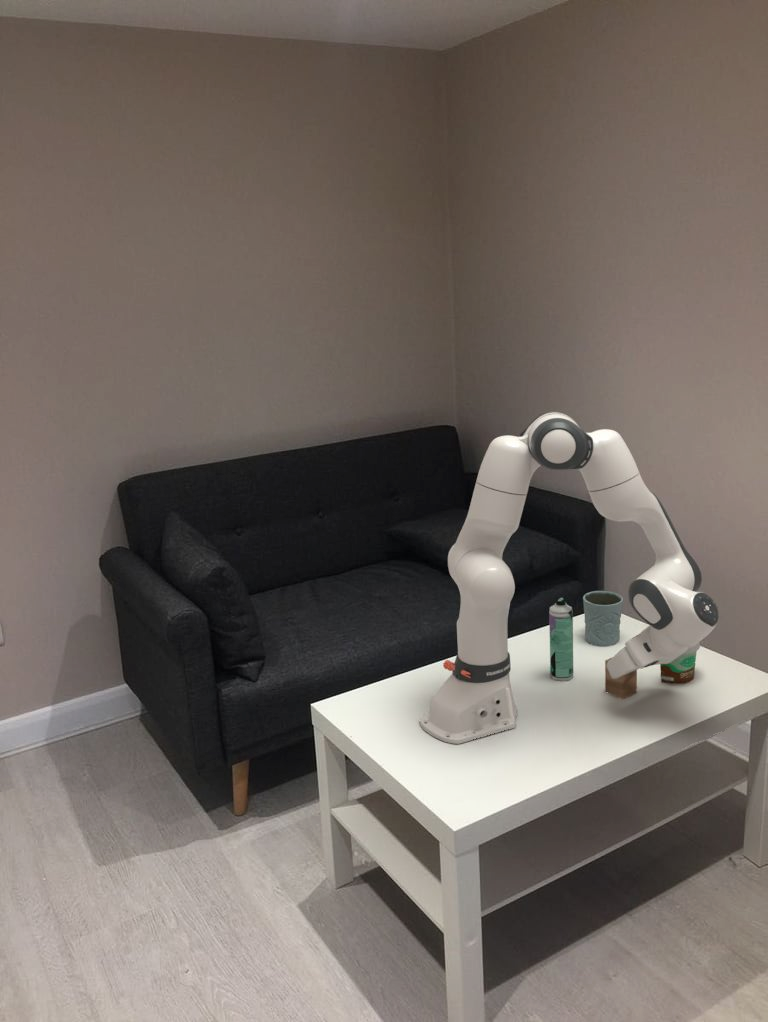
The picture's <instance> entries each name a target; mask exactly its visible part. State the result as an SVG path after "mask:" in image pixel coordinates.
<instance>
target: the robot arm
mask: <svg viewBox="0 0 768 1022" xmlns="http://www.w3.org/2000/svg"><path fill="white" fill-rule="evenodd" d="M628 447H629V446H627V443H626V442H625V440H624V439H623V437H622V436H621V434H620V433H619V432H618V431H615V430H614V429H609V428H607V429H606V428H602V429H596V430H594V431H592V432H585V430H584V429H582V428H581V427H580V426H579V425H578V423H577V422H576V421H575V420H574V418H572V417H570V416H569V415H567V414H566V413H564V412H560V411H555V410H554V411H553V410H552V411H546V412H544V413H541V414H539V415H538V416H537V417H535V418H534V419H533V420H532V421H531V422H530V423H529V424H528V425H527V427H526V428H525V429H524V430H522V432H521V433H520V434H519V436H515V435H507V434H506V435H501V436H498V437H496V438H494V439H493V440H492V441H491V442H490V443H489V445H488V448H487V449H486V452H485V454H484V456H483V459H482V462H481V464H480V467H479V470H478V474H477V478H476V482H475V485H474V489H473V492H472V497H471V501H470V503H469V504H470V505H469V507H468V508H469V509H468V511H467V515H466V518H465V521H464V523H463V525H462V527H461V530H460V532H459V534H458V535H457V538H456V541H455V543H454V544H453V545H452V546H451V548H450V549H449V551H448V555H447V567H448V572H449V575H450V576H451V579H452V580H453V581H454V582H455V584H456V585H457V588H458V590H459V595H460V606H459V607H460V609H459V615H458V619H457V621H456V635H457V636H456V637H457V638H456V639H457V642H456V643H457V654H456V656H455V660H454V661H453V662H452V661H451V660H449V659H446V660H444V662H443V665H442V666H443V668H444V669H445V670H448V671H450V672H452V673H451V674H450V675H449V677H448V678H447V679H446V680H445V681H444V682H443V683H442V684H441V686H440V687H439V688H438V689H437V690H436V691H435V692H434V694H433V695H432V696H431V698H430V702H429V711H428V712H426V713H425V714H423V715H421V716H420V717H419V725H420V727H421V728H422V729H423V730H424V731H425V732H426V733H428V734H429V735H431V736H432V737H434V738H436V739H438V740H441V741H442V742H446V743H449V744H454V745H460V744H464V743H467V742H470V741H474V740H477V739H480V737H481V738H484V737H487V735H488V736H490V734H491V735H494V733H495V734H498V733H500V732H501V731H502V732H504V730H505V731H509V730H512V729H515V728H516V726H517V722H516V718H517V716H518V709H517V706H516V703H515V700H514V695H513V690H512V685H511V678H510V672H511V669H512V668H511V654H510V653H509V647H508V645H509V644H508V640H509V639H508V619H509V618H508V617H509V612H510V611H509V610H510V606H511V602H512V599H513V597H514V594H515V589H516V585H515V579H514V576H513V573H512V570H511V568H510V567H509V566H508V565H507V564H506V562H505V561H504V560H503V553H504V550H505V549H506V546H507V544H508V542H509V540H510V538H511V536H512V535H513V534H514V533H515V532H516V531H517V530H518V528H519V526H520V522H521V518H522V514H523V511H524V506H525V503H526V499H527V495H528V492H529V487H530V482H531V479H532V477H533V475H534V473H535V472H536V470H538V468H539V467H543V468H545V469H547V470H549V471H550V470H551V471H569V470H578V471H579V472H580V473H581V475H582V478H583V480H584V483H585V485H586V488H587V491H588V494H589V496H590V498H591V499H590V500H591V502H592V504H593V506H594V508H595V509H596V510H597V512H598V514H599V515H601V517H603V518H605V519H607V520H610V521H614V522H635V523H636V524H638V525H639V526H640V528H642V530H643V532H644V534H645V536H646V538H647V540H648V541H649V544H650V546H651V547H652V549H653V551H654V553H655V563H654V565H652V566H651V567H650V568H649V569H648V570H646V571H645V572H644V573H642V574H641V575H639V577H637V578H636V579H635V580H633V581H632V582H631V583H630V584H629V587H628V592H627V594H628V595H627V596H628V600H629V601H628V602H629V604H630V606H631V608H632V609H633V610H634V612H635V613H636V614H637V615H638V616H639V617H640V618H641V619H642V620H643V621H644V622H645V623H646V624H648V626H647V627H646V628H645V629H643V630H642V631H641V632H640V633H638V634H636V635H635V636H633V637H632V638H630V639H628V640H627V641H625V643H624V646H625V647H623V648H622V649H620V650H619V651H618V652H617V653H616V654H615V655H614V656H613V658H612V657H611V658H612V659H611V660H610V661H609V662H608V663H607V665H606V666H607V669H608V671H609V674H610V676H611V677H612V678H613V679H616V678H619V677H621V676H623V675H625V674H628V673H630V672H632V671H635V670H637V671H638V669H639V670H641V669H644V668H648V667H652V666H655V665H660V664H668V663H670V662H672V661H673V660H675V659H676V658H677V657H679V656H680V655H682V654H683V653H684V652H686V650H687V649H688V648H689V646H693V645H695V644H697V643H698V642H699V643H700V642H701V641H702V640H703V639H705V638H706V637H707V636H709V634H710V633H711V632H712V631H713V630H714V629H715V628H716V626H717V623H718V621H719V615H720V614H719V608H718V606H717V604H716V602H715V600H714V599H713V598H712V596H710V595H709V594H707V593H705V592H704V591H699V590H700V587H701V585H702V571H701V570H700V567H699V565H698V563H697V561H696V560H694V558H693V557H692V556H691V554H690V553H689V551H688V550H687V548H686V547H685V546H684V544H683V542H682V540H681V538H680V536H679V534H678V532H677V531H676V528H675V526H674V525H673V522H672V520H671V519H670V516H669V514H668V513H667V511H666V509H665V507H664V505H663V503H662V502H661V500H660V498H659V497H658V496H657V495H656V494H655V493H654V492H652V490H650V489H649V488H648V487H647V486H646V484H645V482H644V480H643V478H642V476H641V474H640V471H639V468H638V466H637V463H636V461H635V459H634V456H633V455H632V453H631V450H630V449H629V448H628ZM508 729H509V730H508ZM502 732H501V733H502ZM476 738H477V739H476ZM473 739H474V740H473Z"/></svg>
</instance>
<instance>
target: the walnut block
mask: <svg viewBox="0 0 768 1022" xmlns="http://www.w3.org/2000/svg"><path fill="white" fill-rule="evenodd" d="M613 657H614V656H613ZM613 657H610V658H608V659H605V660H604V661H605V662H604V664H605V665H604V671H605V673H604V674H605V675H604V676H605V677H604V678H605V679H604V681H605V682H604V685H605V687H604V688H605V689H604V690H605V691H604V692H605V693H607V692H608V693H607V694H609V693H610V694H609V695H611V694H612V695H611V696H613V695H614V696H613V697H615V698H617V699H618V698H619V699H620V698H621V699H620V700H623V698H624V699H626V698H627V697H631V696H632V694H633V695H635V694H637V691H638V685H637V684H638V683H637V680H638V669H637V670H635V671H632V672H630V673H628V674H625V675H623V676H621V677H619V678H616V679H613V678H612V677H611V676H610V674H609V671H608V669H607V666H606V665H607V663H608V662H609V661H610V660H611V659H612V658H613Z"/></svg>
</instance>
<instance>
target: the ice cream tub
mask: <svg viewBox="0 0 768 1022" xmlns="http://www.w3.org/2000/svg"><path fill="white" fill-rule="evenodd" d="M700 648H701V644H700V641H699V642H698V643H697V644H695V645H693V646H689V648H688V649H687V650H686V652H684V653H683V654H682V655H680V656H679V657H677V658H676V659H675V660H673V661H672V662H670V663H668V664H659V666H660V681H661V682H662V683H665V684H669V685H670V684H672V685H680V684H681V685H682V684H688V683H690V682H692V681H693V680H694V678H695V669H696V662H697V661H696V659H697V652H698V650H700Z"/></svg>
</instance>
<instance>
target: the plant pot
mask: <svg viewBox="0 0 768 1022" xmlns="http://www.w3.org/2000/svg"><path fill="white" fill-rule="evenodd" d="M582 600H583V602H582V603H583V613H584V634H585V641H586V642H587V643H588V644H589V643H590V645H591V644H592V646H595V645H596V647H611V646H610V645H612V646H615V645H616V643H617V642H618V643H619V642H620V631H621V630H620V627H621V618H622V612H623V611H622V610H623V601H624V598H623V596H621V595H620V594H619V593H617V592H613V591H606V590H594V591H590V592H587V593H585V594H584V595H583V597H582ZM618 643H617V644H618ZM614 644H615V645H614Z"/></svg>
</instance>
